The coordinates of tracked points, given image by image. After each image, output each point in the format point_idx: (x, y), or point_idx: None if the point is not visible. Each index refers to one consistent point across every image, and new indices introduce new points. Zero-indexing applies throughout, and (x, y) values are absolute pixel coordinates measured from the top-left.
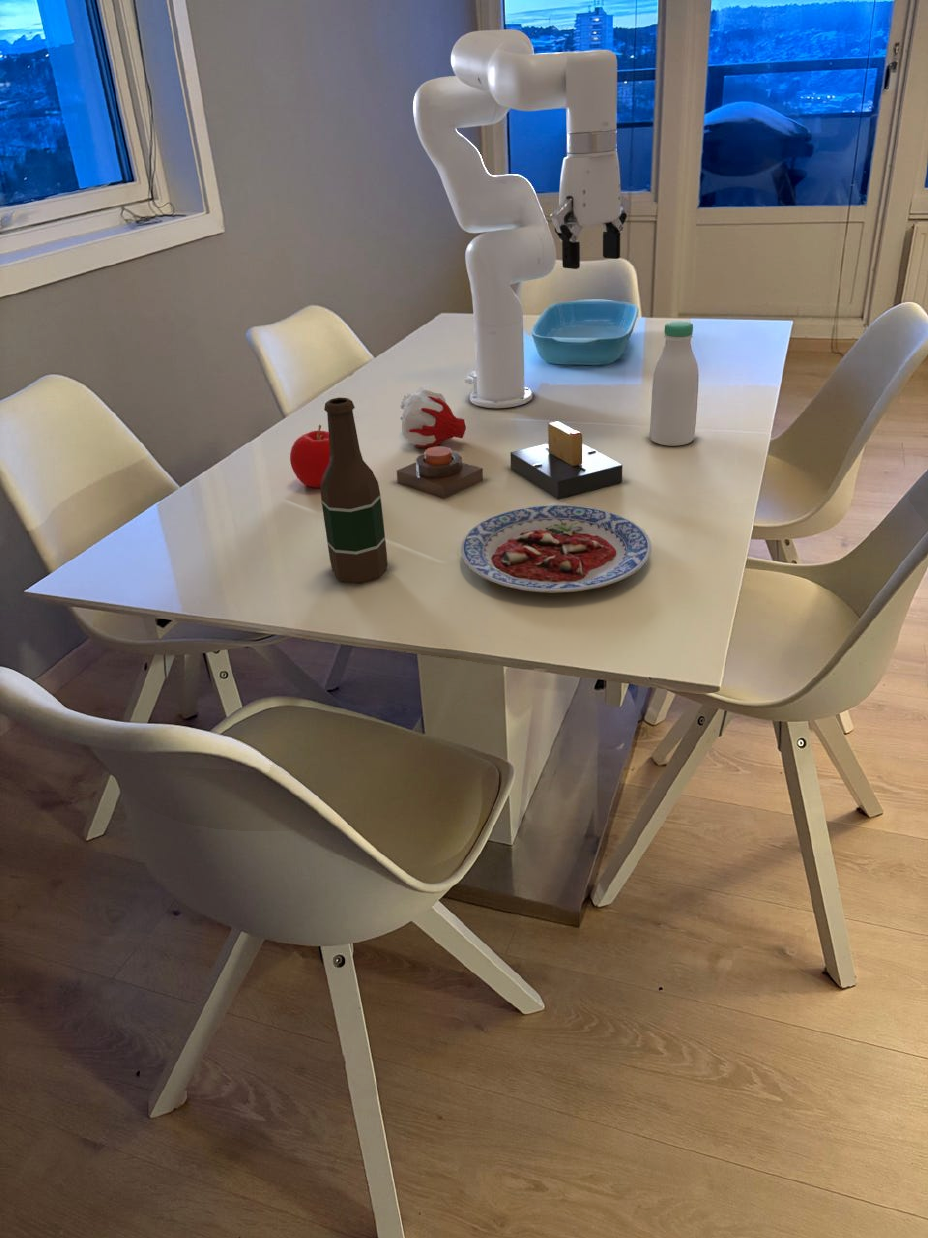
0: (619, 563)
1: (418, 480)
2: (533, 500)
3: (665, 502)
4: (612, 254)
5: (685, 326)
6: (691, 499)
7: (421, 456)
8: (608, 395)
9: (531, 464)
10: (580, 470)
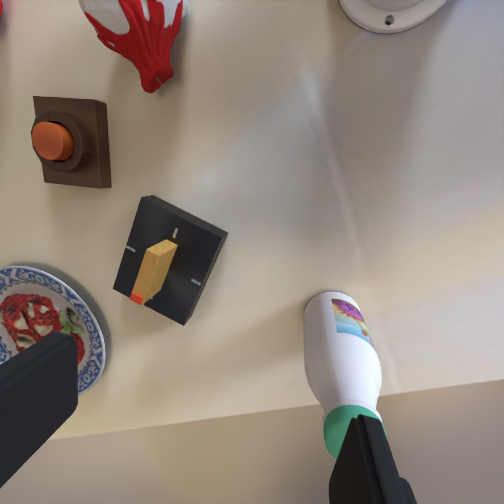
0: None
1: None
2: (109, 262)
3: (176, 363)
4: (337, 482)
5: None
6: (194, 379)
7: (47, 115)
8: (494, 146)
9: (128, 241)
10: None
